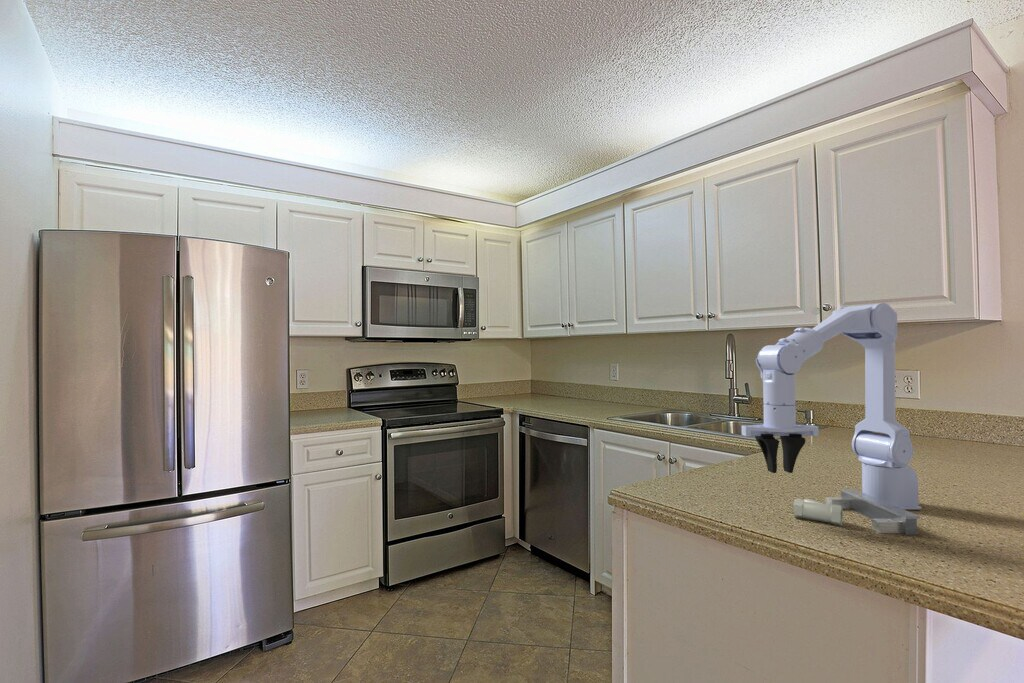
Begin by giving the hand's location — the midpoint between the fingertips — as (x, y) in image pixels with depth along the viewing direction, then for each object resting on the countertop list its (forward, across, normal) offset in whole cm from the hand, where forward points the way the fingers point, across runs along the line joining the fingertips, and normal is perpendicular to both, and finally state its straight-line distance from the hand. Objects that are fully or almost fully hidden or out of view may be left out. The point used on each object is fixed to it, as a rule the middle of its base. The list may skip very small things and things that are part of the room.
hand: (780, 471), depth 100 cm
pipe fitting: (+10, -8, 0) cm, 13 cm away
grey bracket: (+9, -17, 0) cm, 20 cm away
